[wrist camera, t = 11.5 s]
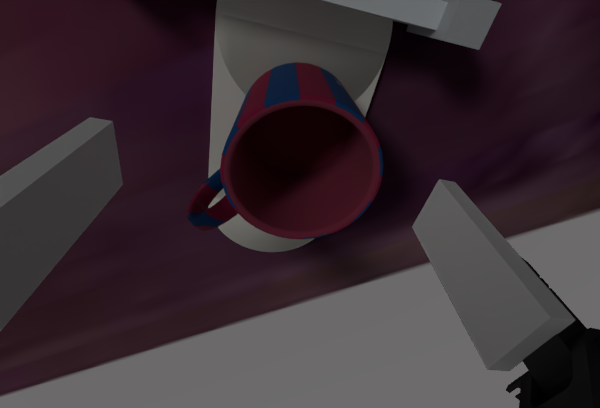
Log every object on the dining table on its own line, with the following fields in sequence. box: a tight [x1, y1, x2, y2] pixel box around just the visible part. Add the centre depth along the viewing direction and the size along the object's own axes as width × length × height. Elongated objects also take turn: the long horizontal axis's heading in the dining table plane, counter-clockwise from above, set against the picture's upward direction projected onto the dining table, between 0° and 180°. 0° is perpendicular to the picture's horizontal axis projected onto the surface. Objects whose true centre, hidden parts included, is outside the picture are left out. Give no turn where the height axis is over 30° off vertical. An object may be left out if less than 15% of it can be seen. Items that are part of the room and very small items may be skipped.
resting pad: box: [208, 0, 393, 252], centre depth 18 cm, size 20×9×1 cm, turn 168°
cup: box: [187, 62, 384, 239], centre depth 15 cm, size 7×10×7 cm
